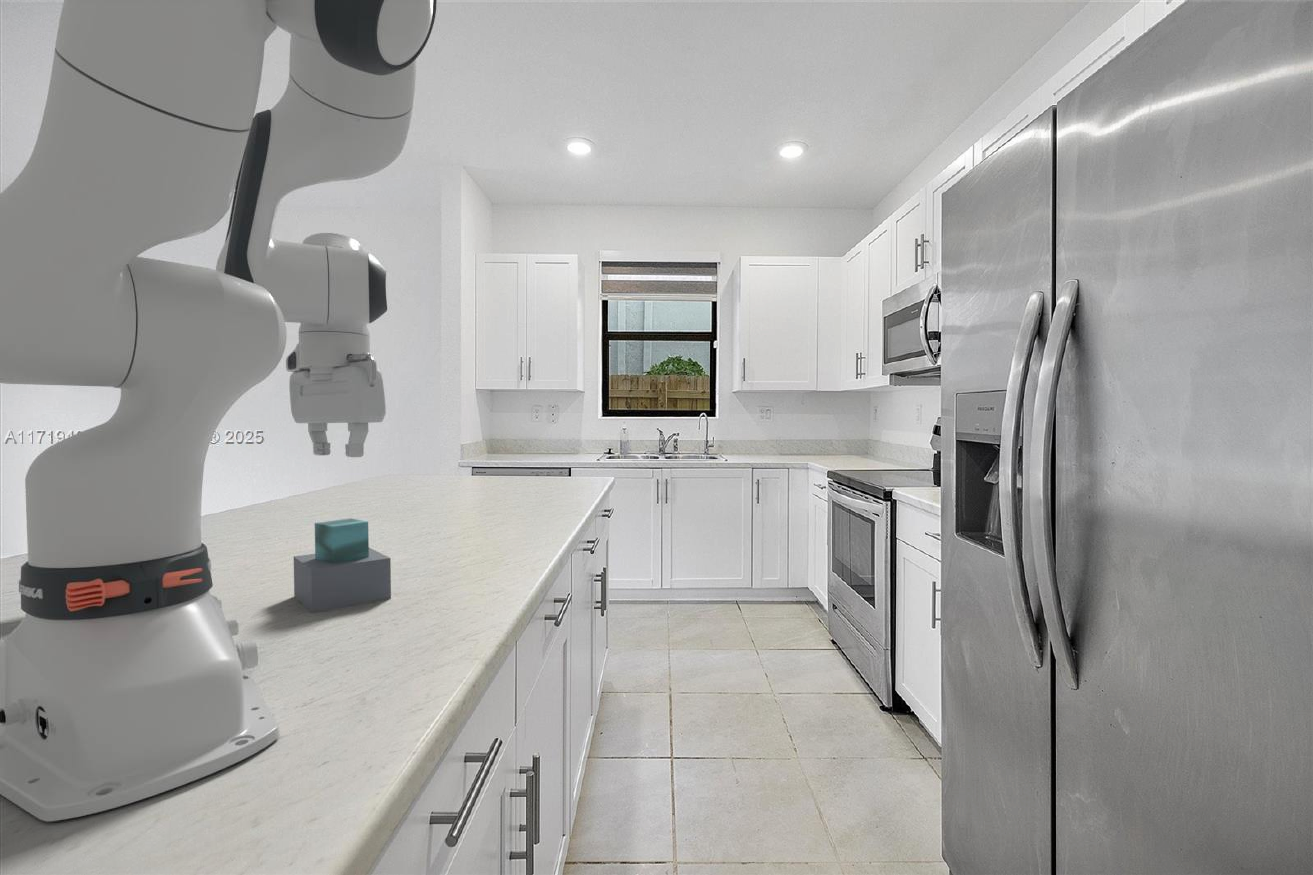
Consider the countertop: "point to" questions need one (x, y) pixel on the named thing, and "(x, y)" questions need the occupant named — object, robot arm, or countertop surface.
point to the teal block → (341, 540)
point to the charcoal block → (341, 581)
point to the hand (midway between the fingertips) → (337, 456)
